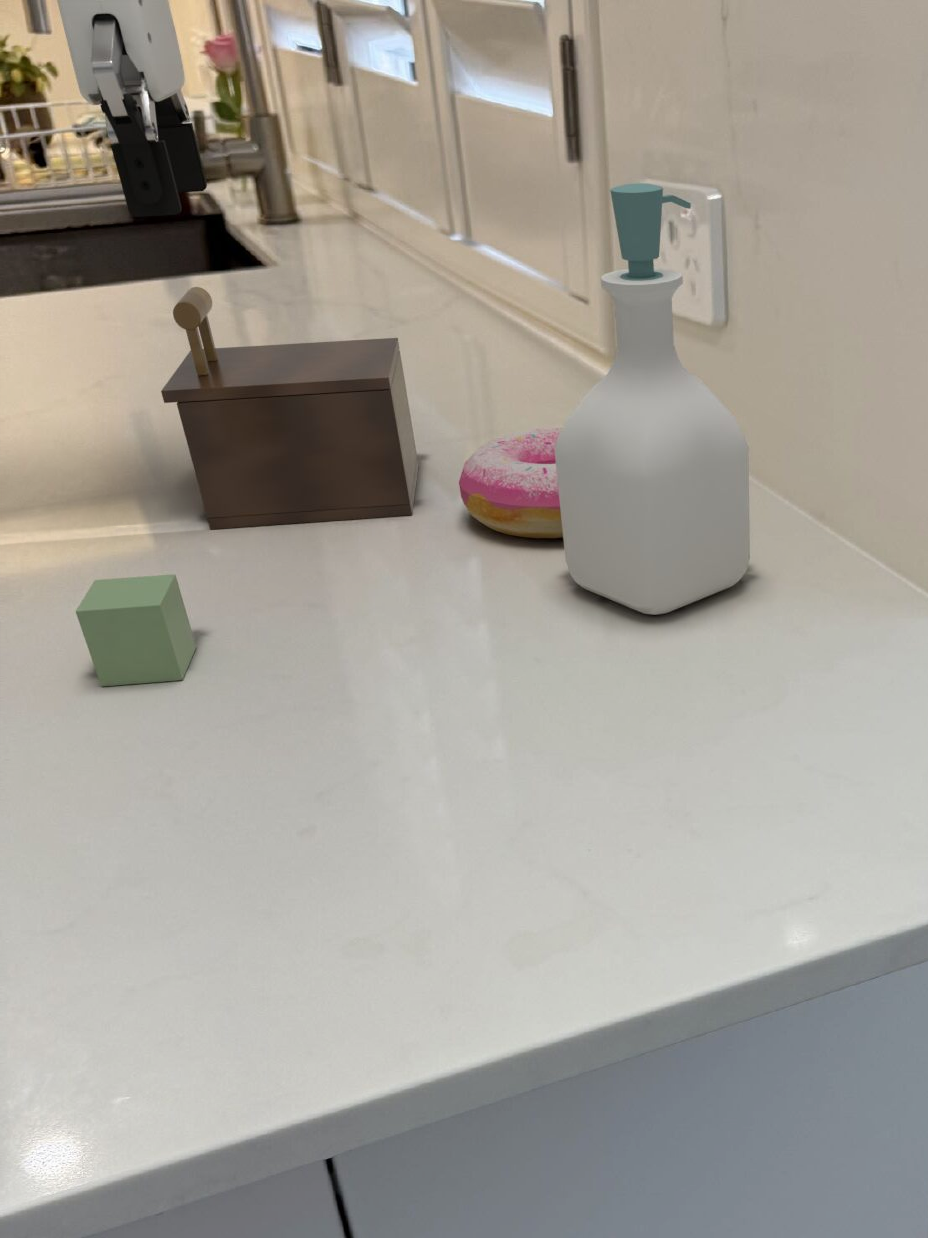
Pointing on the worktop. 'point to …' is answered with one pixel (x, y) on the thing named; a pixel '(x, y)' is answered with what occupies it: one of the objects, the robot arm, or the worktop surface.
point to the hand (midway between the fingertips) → (171, 203)
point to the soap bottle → (651, 448)
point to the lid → (272, 363)
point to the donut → (515, 484)
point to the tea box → (303, 456)
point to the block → (137, 630)
